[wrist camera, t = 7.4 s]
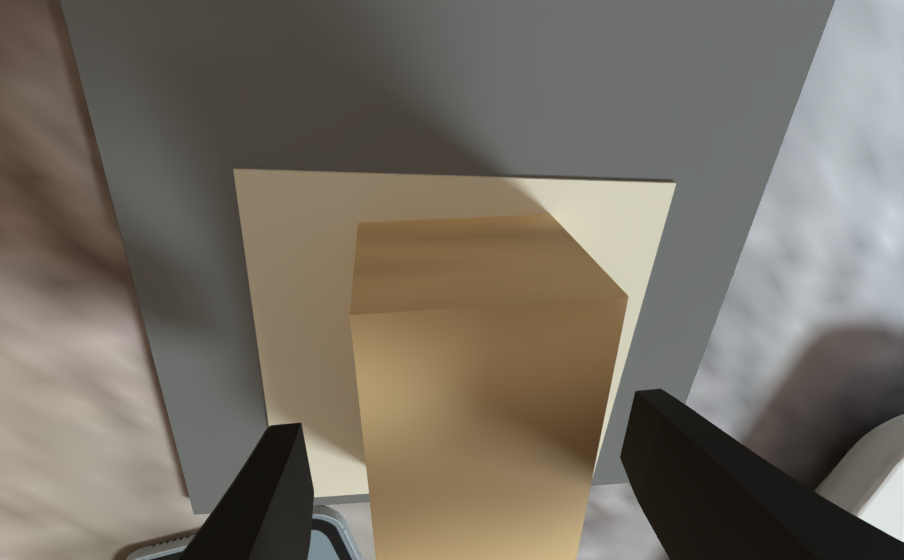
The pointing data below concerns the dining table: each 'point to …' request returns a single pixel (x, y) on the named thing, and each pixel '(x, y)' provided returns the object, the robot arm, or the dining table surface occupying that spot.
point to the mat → (418, 180)
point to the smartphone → (329, 550)
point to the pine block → (481, 384)
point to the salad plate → (872, 479)
